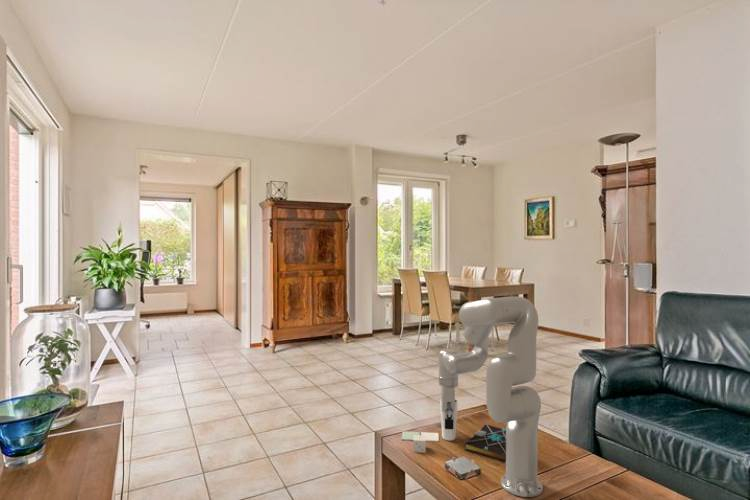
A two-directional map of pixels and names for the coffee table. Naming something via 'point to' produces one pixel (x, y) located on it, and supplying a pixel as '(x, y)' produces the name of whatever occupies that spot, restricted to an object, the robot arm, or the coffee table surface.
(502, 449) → the book
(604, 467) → the coffee table surface
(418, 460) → the coffee table surface
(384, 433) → the coffee table surface
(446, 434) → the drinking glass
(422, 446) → the die
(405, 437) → the squares
